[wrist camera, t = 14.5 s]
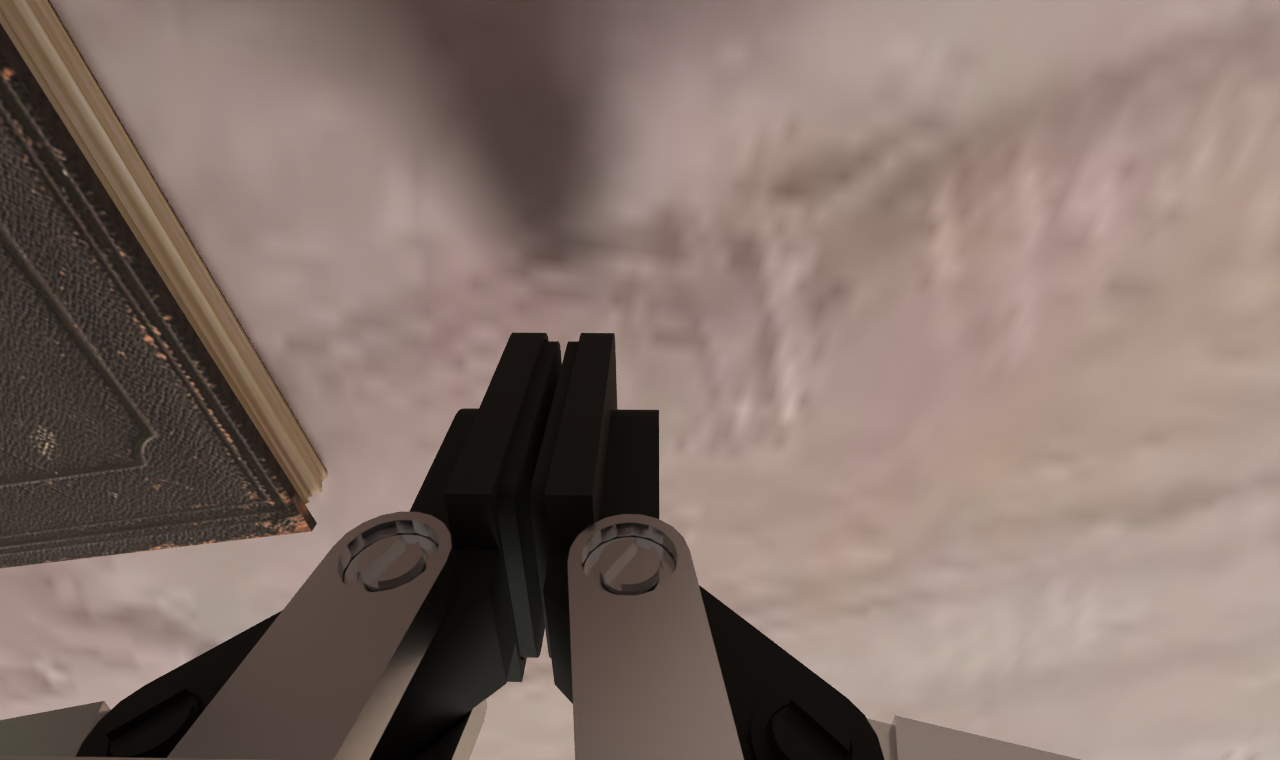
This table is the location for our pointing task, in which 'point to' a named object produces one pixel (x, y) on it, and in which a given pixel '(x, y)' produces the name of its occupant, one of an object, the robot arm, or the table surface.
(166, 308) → the hardcover book
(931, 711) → the table surface
